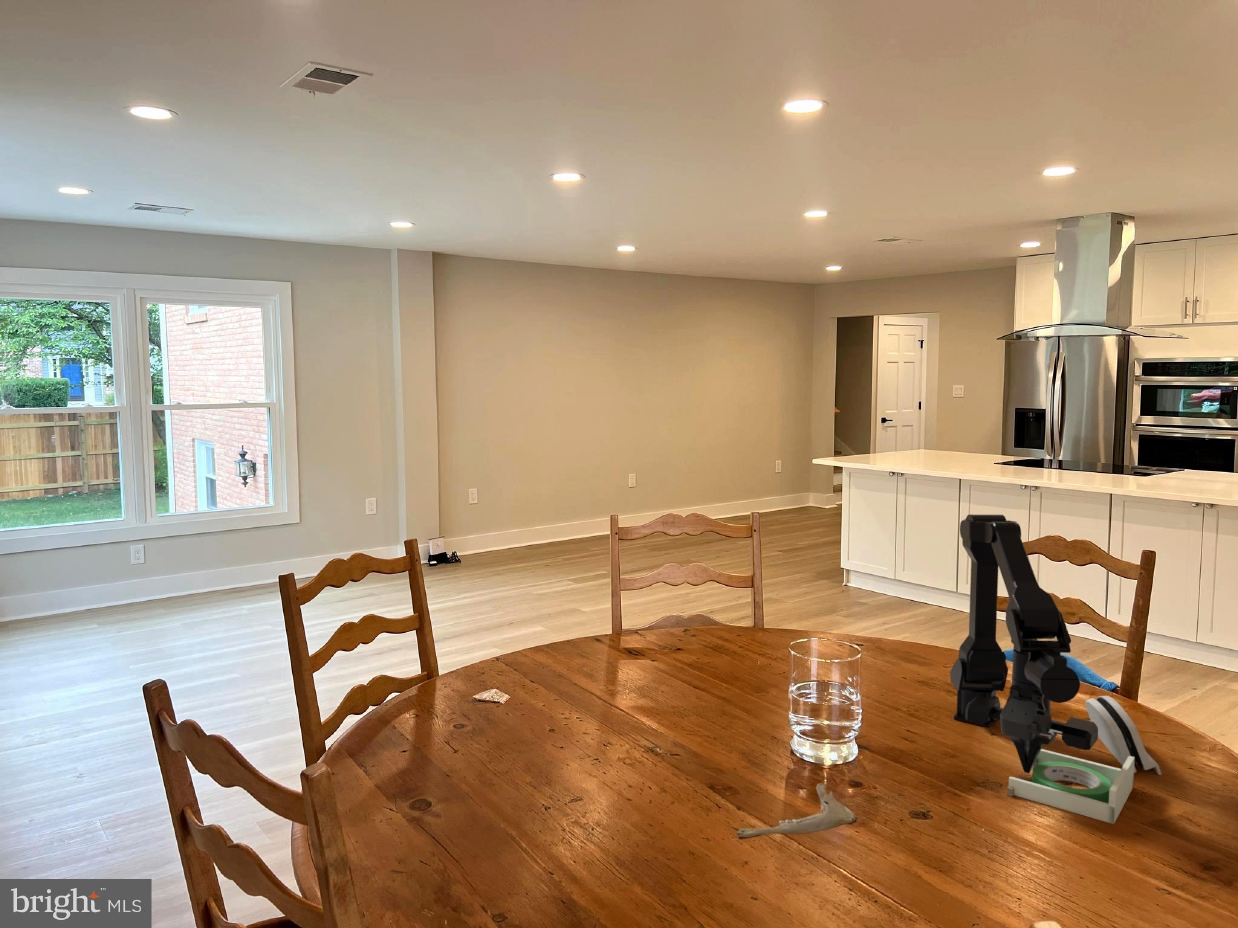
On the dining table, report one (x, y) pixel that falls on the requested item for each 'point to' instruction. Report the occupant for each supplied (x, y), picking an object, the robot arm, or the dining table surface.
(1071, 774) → the tape roll
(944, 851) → the dining table surface
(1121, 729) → the white curved piece
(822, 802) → the jawbone
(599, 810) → the dining table surface
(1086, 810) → the frame
